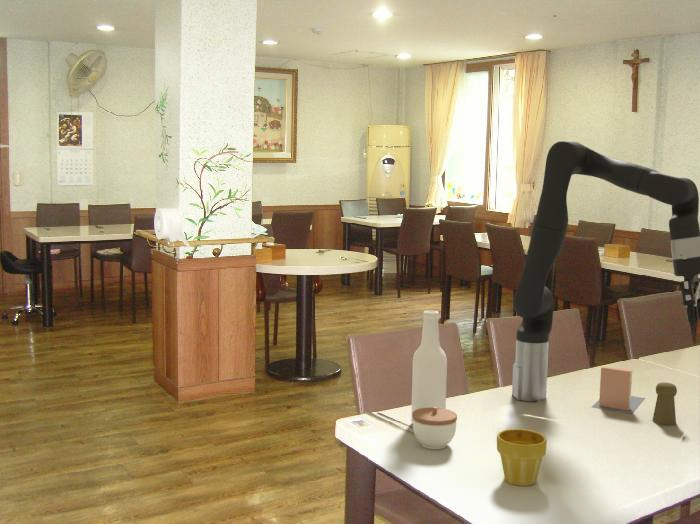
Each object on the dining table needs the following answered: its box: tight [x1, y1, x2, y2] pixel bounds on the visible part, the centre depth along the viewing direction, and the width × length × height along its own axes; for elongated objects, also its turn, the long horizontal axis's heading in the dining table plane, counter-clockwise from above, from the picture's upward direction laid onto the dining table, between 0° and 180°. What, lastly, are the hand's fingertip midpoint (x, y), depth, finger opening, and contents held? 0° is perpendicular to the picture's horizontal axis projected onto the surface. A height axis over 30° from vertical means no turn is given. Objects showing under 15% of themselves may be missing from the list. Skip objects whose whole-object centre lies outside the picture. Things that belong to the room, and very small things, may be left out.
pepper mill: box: [652, 381, 678, 427], centre depth 206 cm, size 6×6×11 cm
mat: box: [591, 395, 646, 415], centre depth 224 cm, size 18×11×1 cm, turn 148°
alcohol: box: [410, 309, 448, 424], centre depth 202 cm, size 9×9×30 cm
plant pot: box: [496, 428, 548, 487], centre depth 167 cm, size 10×10×10 cm
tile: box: [598, 365, 633, 410], centre depth 219 cm, size 2×8×11 cm, turn 58°
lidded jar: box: [411, 407, 458, 450], centre depth 188 cm, size 11×11×9 cm
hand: (697, 320), depth 196 cm, fingers open, 8 cm apart
